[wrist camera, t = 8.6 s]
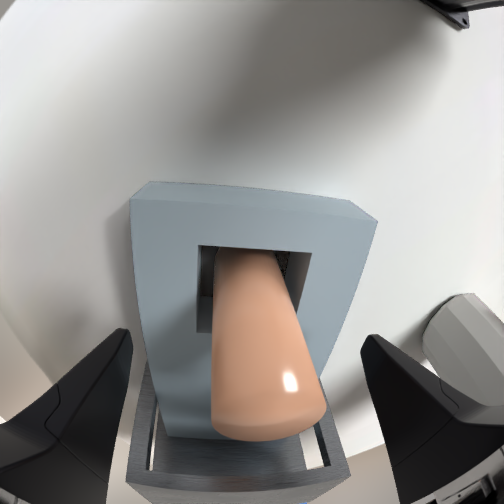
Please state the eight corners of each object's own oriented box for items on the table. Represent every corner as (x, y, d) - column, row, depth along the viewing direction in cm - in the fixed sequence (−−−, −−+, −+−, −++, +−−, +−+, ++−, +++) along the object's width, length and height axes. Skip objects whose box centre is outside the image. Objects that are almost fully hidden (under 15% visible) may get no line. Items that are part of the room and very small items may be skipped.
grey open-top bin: (314, 361, 19) (351, 475, 10) (290, 414, 22) (309, 501, 14) (147, 356, 17) (125, 481, 9) (160, 411, 21) (152, 504, 12)
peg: (279, 237, 14) (342, 384, 6) (270, 289, 15) (308, 437, 7) (216, 232, 14) (212, 389, 6) (213, 286, 15) (211, 441, 7)
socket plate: (350, 200, 13) (377, 221, 11) (282, 409, 22) (287, 436, 19) (149, 181, 12) (129, 198, 9) (170, 407, 20) (167, 435, 18)
